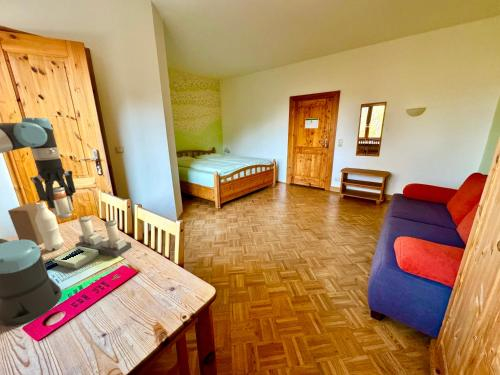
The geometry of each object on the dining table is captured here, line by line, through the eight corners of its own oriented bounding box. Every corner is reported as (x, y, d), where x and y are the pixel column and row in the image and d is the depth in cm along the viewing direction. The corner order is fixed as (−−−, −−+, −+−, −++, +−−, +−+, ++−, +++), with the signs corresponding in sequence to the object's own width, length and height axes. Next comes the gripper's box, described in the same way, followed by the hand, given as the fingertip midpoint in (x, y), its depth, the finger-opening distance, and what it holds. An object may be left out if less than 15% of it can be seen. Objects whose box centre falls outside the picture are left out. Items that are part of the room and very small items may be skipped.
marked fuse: (63, 219, 86) (54, 190, 82) (55, 218, 87) (46, 189, 83) (74, 215, 90) (66, 187, 86) (67, 214, 91) (59, 186, 88)
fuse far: (89, 243, 103) (82, 220, 99) (82, 242, 104) (76, 219, 100) (98, 239, 107) (92, 216, 103) (91, 238, 108) (85, 215, 104)
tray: (76, 269, 88) (74, 264, 88) (55, 264, 92) (53, 258, 91) (99, 255, 98) (98, 250, 97) (79, 251, 102) (78, 246, 101)
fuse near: (115, 249, 98) (109, 224, 94) (108, 247, 99) (102, 223, 95) (123, 244, 102) (118, 220, 98) (116, 242, 103) (111, 219, 100)
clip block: (116, 257, 96) (113, 246, 94) (76, 249, 103) (73, 238, 101) (131, 247, 104) (129, 236, 103) (93, 240, 112) (91, 229, 110)
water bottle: (68, 244, 108) (54, 200, 101) (54, 252, 101) (38, 205, 94) (56, 243, 109) (41, 200, 101) (41, 251, 102) (25, 205, 94)
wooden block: (38, 245, 108) (26, 210, 102) (20, 245, 108) (7, 210, 102) (56, 235, 117) (46, 203, 111) (39, 235, 117) (28, 203, 112)
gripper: (25, 162, 72) (45, 222, 79) (77, 155, 88) (90, 205, 95) (12, 161, 74) (32, 219, 81) (65, 155, 90) (78, 204, 97)
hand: (63, 212), depth 88 cm, fingers closed on marked fuse, 4 cm apart
